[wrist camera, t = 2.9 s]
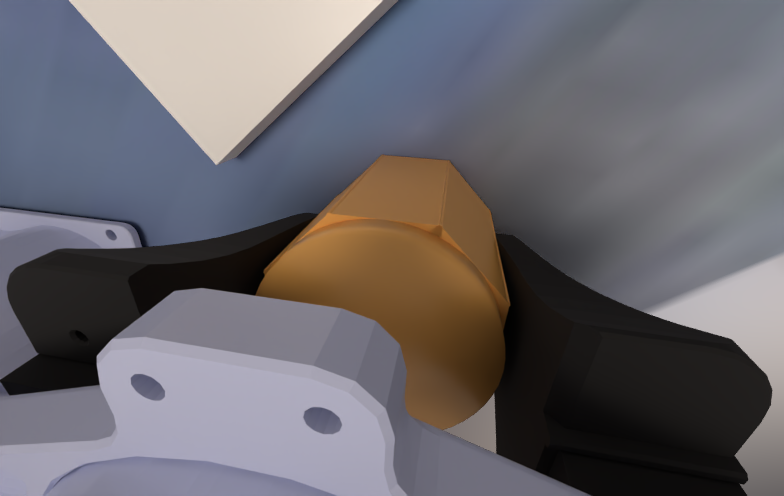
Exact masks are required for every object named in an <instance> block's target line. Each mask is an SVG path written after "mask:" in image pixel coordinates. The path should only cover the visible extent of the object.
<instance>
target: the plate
mask: <svg viewBox="0 0 784 496" xmlns="http://www.w3.org/2000/svg"><path fill="white" fill-rule="evenodd" d="M69 1H70V2H71V3H72V4H73V5H74V7H75V8H76V9H77V10H78V11H79V12H80V13H81V14H82V16H83V17H84V18H85V19H86V20H87V21H88V22H89V23H90V24H91V26H92V27H93V28H94V29H95V30H96V31H97V32H98V33H99V35H100V36H101V37H102V38H103V39H104V40H105V41H106V42H107V43H108V45H109V46H110V47H111V48H112V49H113V50H114V51H115V52H116V53H117V55H118V56H119V57H120V58H121V59H122V60H123V61H124V62H125V64H126V65H127V66H128V67H129V68H130V69H131V70H132V71H133V72H134V74H135V75H136V76H137V77H138V78H139V79H140V80H141V81H142V82H143V84H144V85H145V86H146V87H147V88H148V89H149V90H150V91H151V93H152V94H153V95H154V96H155V97H156V98H157V99H158V100H159V101H160V103H161V104H162V105H163V106H164V107H165V108H166V109H167V110H168V112H169V113H170V114H171V115H172V116H173V117H174V118H175V119H176V120H177V122H178V123H179V124H180V125H181V126H182V127H183V128H184V129H185V130H186V132H187V133H188V134H189V135H190V136H191V137H192V138H193V139H194V141H195V142H196V143H197V144H198V145H199V146H200V147H201V148H202V149H203V151H204V152H205V153H206V154H207V155H208V156H209V157H210V158H211V159H212V161H213V162H214V163H215V164H216V165H218V164H220V163H223V162H226V161H228V160H231V159H233V158H236V157H237V156H238V155H239V154H240V153H241V152H242V151H243V150H244V149H245V148H246V147H247V146H248V145H249V144H250V143H251V142H252V141H254V140H255V139H256V138H257V137H258V136H259V135H260V134H261V133H262V132H263V131H264V130H265V129H266V128H267V127H268V126H269V125H270V124H271V123H272V122H273V121H274V120H275V119H276V118H277V117H278V116H279V115H280V114H281V113H283V112H284V111H285V110H286V109H287V108H288V107H289V106H290V105H291V104H292V103H293V102H294V101H295V100H296V99H297V98H298V97H299V96H300V95H301V94H302V93H303V92H304V91H305V90H306V89H307V88H308V87H309V86H310V85H311V84H313V83H314V82H315V81H316V80H317V79H318V78H319V77H320V76H321V75H322V74H323V73H324V72H325V71H326V70H327V69H328V68H329V67H330V66H331V65H332V64H333V63H334V62H335V61H336V60H337V59H338V58H339V57H340V56H341V55H343V54H344V53H345V52H346V51H347V50H348V49H349V48H350V47H351V46H352V45H353V44H354V43H355V42H356V41H357V40H358V39H359V38H360V37H361V36H362V35H363V34H364V33H365V32H366V31H367V30H368V29H369V28H370V27H372V26H373V25H374V24H375V23H376V22H377V21H378V20H379V19H380V18H381V17H382V16H383V15H384V14H385V13H386V12H387V11H388V10H389V9H390V8H391V7H392V6H393V5H394V4H395V3H396V2H397V1H398V0H69Z"/></svg>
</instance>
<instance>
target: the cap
mask: <svg viewBox="0 0 784 496" xmlns="http://www.w3.org/2000/svg"><path fill="white" fill-rule="evenodd" d="M263 273H264V274H265V277H264V278H263V280H262V282H261V283H260V285H259V288H258V290H257V292H256V295H255V296H260V297H267V298H274V299H280V300H287V301H294V302H301V303H308V304H315V305H322V306H329V307H335V308H342V309H345V310H347V311H350V312H353V313H356V314H358V315H361V316H364V317H367V318H369V319H372V320H375V321H376V322H378V323H379V324H380V325H381V326H382V327H383V328H384V329H385V330H386V331H387V332H388V333H389V334H390V335H391V336H392V337H393V338H394V339H395V340H396V341H397V342H398V343H399V344H400V347H401V350H402V354H403V358H404V362H405V366H406V369H407V375H406V387H405V406H406V410H407V412H408V414H409V415H410V416H412V417H414V418H416V419H418V420H421V421H423V422H425V423H427V424H430V425H432V426H434V427H437V428H439V429H441V430H444V429H447V428H450V427H453V426H455V425H457V424H459V423H461V422H463V421H465V420H466V419H468V418H469V417H471V416H472V415H474V414H475V413H476V412H477V411H478V410H480V409H481V408H482V407H483V406H484V405H485V404H486V403H487V402H488V400H489V399H490V398H491V397H492V395H493V394H494V392H495V390H496V389H497V387H498V385H499V383H500V380H501V377H502V374H503V371H504V365H505V341H504V335H503V329H504V325H505V321H506V317H507V313H508V309H509V306H511V305H510V300H509V296H508V291H507V286H506V282H505V277H504V272H503V268H502V263H501V258H500V254H499V249H498V245H497V240H496V235H495V230H494V225H493V221H492V216H491V211H490V209H488V208H487V206H486V205H485V204H484V203H483V202H482V200H481V199H480V198H479V197H478V195H477V194H476V193H475V192H474V191H473V189H472V188H471V187H470V186H469V184H468V183H467V182H466V181H465V180H464V178H463V177H462V176H461V175H460V173H459V172H458V171H457V170H456V168H455V167H454V166H453V165H452V164H451V162H450V161H449V160H436V159H424V158H412V157H400V156H388V155H381V156H380V157H379V158H378V159H377V160H376V161H375V162H374V163H373V164H372V165H371V166H370V167H369V168H368V169H367V170H365V171H364V172H363V173H362V174H361V175H360V176H359V177H358V178H357V179H356V180H355V181H354V182H352V183H351V184H350V185H349V186H348V187H347V188H346V189H345V190H344V191H343V192H342V193H340V194H338V195H337V196H336V197H335V198H334V199H333V200H332V201H331V202H330V203H329V204H328V205H327V206H326V207H325V208H324V209H323V210H322V211H321V212H320V213H319V215H318V216H317V217H316V218H315V219H314V220H313V221H312V222H311V223H310V224H309V225H308V226H307V227H306V228H305V229H304V230H303V231H302V232H301V233H300V234H299V235H298V236H297V237H296V238H295V239H294V240H293V241H292V242H291V243H290V244H289V245H288V246H287V247H286V248H285V249H284V250H283V251H282V252H281V253H280V254H279V255H278V256H277V257H276V258H275V259H274V260H273V261H272V262H271V263H270V264H269V265H268V266H267V267H266V268H265V269H264V272H263Z"/></svg>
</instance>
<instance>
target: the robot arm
mask: <svg viewBox="0 0 784 496" xmlns="http://www.w3.org/2000/svg"><path fill="white" fill-rule="evenodd" d="M318 215H319V214H313V213H302V214H298V215H294V216H290V217H287V218H284V219H281V220H278V221H275V222H271V223H268V224H265V225H262V226H259V227H255V228H252V229H248V230H245V231H242V232H238V233H234V234H230V235H226V236H222V237H217V238H212V239H207V240H202V241H195V242H188V243H180V244H173V245H165V246H153V247H142V245H141V242H140V239H139V236H138V233H137V231H136V230H135V228H134V227H132V226H131V225H129V224H127V223H122V222H114V221H106V220H98V219H89V218H81V217H73V216H65V215H57V214H48V213H40V212H32V211H24V210H16V209H7V208H0V496H747V494H746V493H745V492H744V490H743V489H742V487H741V486H740V484H745V483H746V482H747V481H748V477H747V473H746V471H745V470H744V469H743V467H742V466H741V464H740V463H739V461H738V460H737V459H736V457H735V456H734V455H735V454H736V453H737V452H738V450H739V449H740V448H741V447H742V445H743V444H744V443H745V442H746V440H747V439H748V438H749V437H750V435H751V434H752V433H753V432H754V431H755V429H756V428H757V426H759V424H760V423H761V422H762V419H763V418H764V416H765V415H766V413H767V411H768V409H769V407H770V406H771V398H772V388H771V385H770V383H769V380H768V377H767V375H766V374H765V373H764V372H763V371H762V370H761V369H760V368H759V367H758V366H757V365H756V364H755V363H754V362H753V361H752V360H751V359H750V358H749V357H748V356H747V354H746V353H745V352H743V351H742V349H741V348H740V347H739V346H738V345H737V344H736V343H735V342H734V341H733V340H731V339H729V338H725V337H722V336H718V335H714V334H711V333H708V332H704V331H701V330H697V329H693V328H689V327H686V326H682V325H679V324H676V323H673V322H670V321H667V320H664V319H661V318H658V317H655V316H653V315H650V314H647V313H644V312H641V311H639V310H636V309H634V308H631V307H629V306H626V305H624V304H622V303H619V302H617V301H615V300H613V299H610V298H608V297H606V296H604V295H602V294H600V293H597V292H595V291H593V290H592V289H590V288H588V287H586V286H584V285H582V284H581V283H579V282H577V281H575V280H574V279H572V278H570V277H569V276H567V275H565V274H564V273H563V272H561V271H560V270H558V269H557V268H555V267H554V266H552V265H551V264H549V263H548V262H547V261H545V260H544V259H543V258H541V257H540V256H539V255H538V254H536V253H535V252H534V251H533V250H531V249H530V248H529V247H528V246H526V245H525V244H524V243H523V242H521V241H520V240H519V239H517V238H516V237H515V236H513V235H505V234H496V233H495V235H496V240H497V245H498V249H499V254H500V258H501V263H502V268H503V272H504V277H505V282H506V286H507V291H508V296H509V300H510V305H511V306H509V309H508V313H507V317H506V321H505V325H504V329H503V335H504V341H505V365H504V371H503V374H502V377H501V380H500V383H499V385H498V387H497V389H496V390H495V392H494V395H495V419H496V451H497V452H496V454H495V453H493V452H491V451H489V450H486V449H484V448H482V447H480V446H477V445H475V444H473V443H471V442H468V441H466V440H464V439H462V438H459V437H457V436H455V435H452V434H450V433H448V432H446V431H443V430H441V429H439V428H437V427H434V426H432V425H430V424H427V423H425V422H423V421H421V420H418V419H416V418H414V417H412V416H410V415H409V414H408V412H407V410H406V406H405V387H406V375H407V369H406V366H405V362H404V358H403V354H402V350H401V347H400V344H399V343H398V342H397V341H396V340H395V339H394V338H393V337H392V336H391V335H390V334H389V333H388V332H387V331H386V330H385V329H384V328H383V327H382V326H381V325H380V324H379V323H378V322H376V321H375V320H372V319H369V318H367V317H364V316H361V315H358V314H356V313H353V312H350V311H347V310H345V309H342V308H335V307H329V306H322V305H315V304H308V303H301V302H294V301H287V300H280V299H274V298H267V297H260V296H255V295H256V292H257V290H258V288H259V285H260V283H261V282H262V280H263V278H264V277H265V274H264V273H263V272H264V269H265V268H266V267H267V266H268V265H269V264H270V263H271V262H272V261H273V260H274V259H275V258H276V257H277V256H278V255H279V254H280V253H281V252H282V251H283V250H284V249H285V248H286V247H287V246H288V245H289V244H290V243H291V242H292V241H293V240H294V239H295V238H296V237H297V236H298V235H299V234H300V233H301V232H302V231H303V230H304V229H305V228H306V227H307V226H308V225H309V224H310V223H311V222H312V221H313V220H314V219H315V218H316V217H317V216H318Z"/></svg>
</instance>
